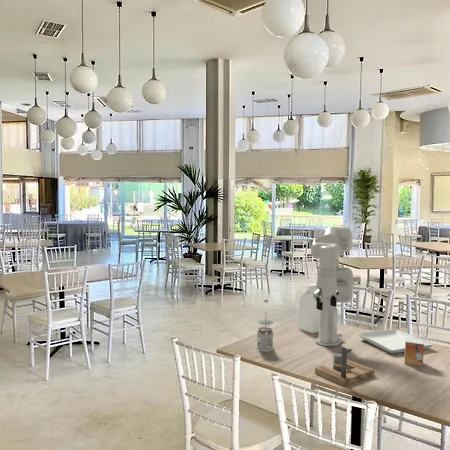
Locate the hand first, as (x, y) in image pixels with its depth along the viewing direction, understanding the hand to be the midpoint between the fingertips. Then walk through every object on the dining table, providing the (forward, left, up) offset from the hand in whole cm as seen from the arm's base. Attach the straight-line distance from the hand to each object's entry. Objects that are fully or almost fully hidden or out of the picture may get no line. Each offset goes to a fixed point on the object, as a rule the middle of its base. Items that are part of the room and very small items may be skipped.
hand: (326, 307), depth 210 cm
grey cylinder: (+6, +14, -25) cm, 29 cm away
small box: (-32, +26, -25) cm, 48 cm away
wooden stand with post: (+6, +17, -25) cm, 31 cm away
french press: (+13, -28, -25) cm, 40 cm away
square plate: (-48, +5, -26) cm, 55 cm away
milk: (-31, -38, -25) cm, 55 cm away
